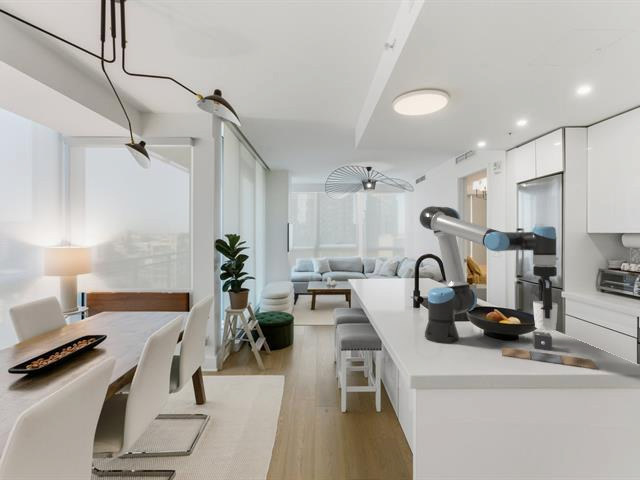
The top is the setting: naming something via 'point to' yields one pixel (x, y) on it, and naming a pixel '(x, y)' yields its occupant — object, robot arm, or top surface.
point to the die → (542, 341)
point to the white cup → (539, 315)
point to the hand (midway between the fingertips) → (545, 324)
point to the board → (549, 358)
